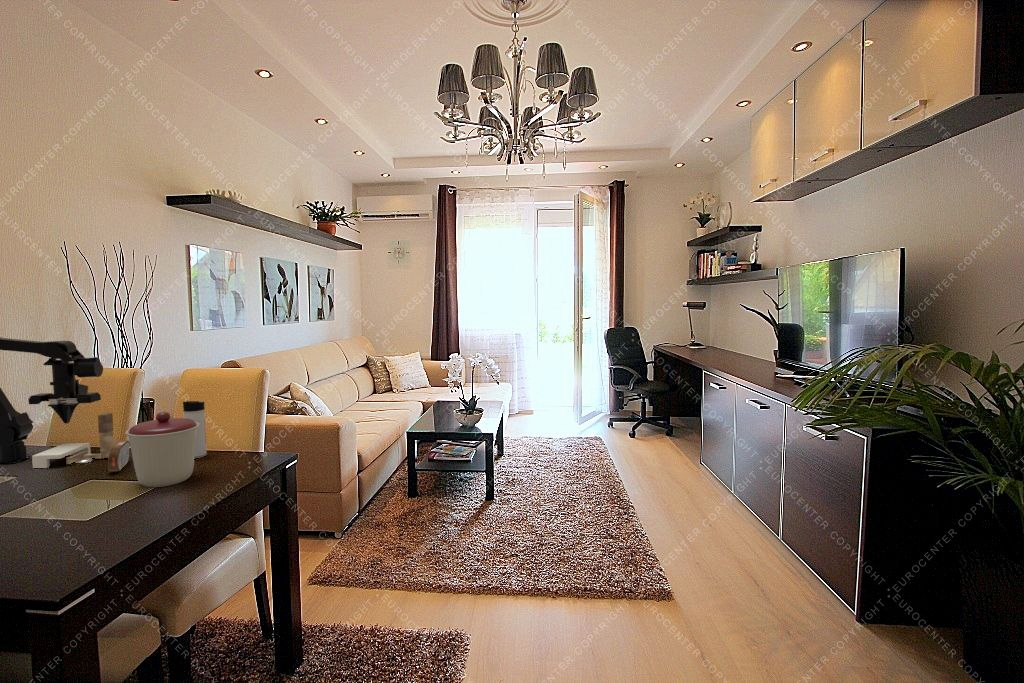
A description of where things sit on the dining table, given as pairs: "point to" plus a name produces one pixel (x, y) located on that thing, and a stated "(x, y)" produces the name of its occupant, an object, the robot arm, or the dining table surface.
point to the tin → (118, 455)
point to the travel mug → (197, 413)
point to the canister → (163, 450)
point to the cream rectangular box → (58, 453)
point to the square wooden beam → (105, 439)
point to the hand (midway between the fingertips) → (66, 423)
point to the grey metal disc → (83, 460)
